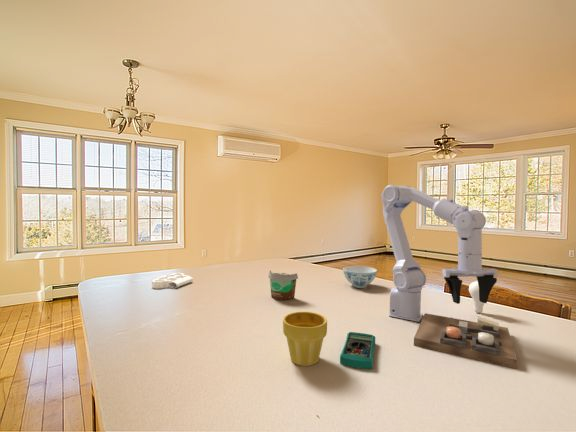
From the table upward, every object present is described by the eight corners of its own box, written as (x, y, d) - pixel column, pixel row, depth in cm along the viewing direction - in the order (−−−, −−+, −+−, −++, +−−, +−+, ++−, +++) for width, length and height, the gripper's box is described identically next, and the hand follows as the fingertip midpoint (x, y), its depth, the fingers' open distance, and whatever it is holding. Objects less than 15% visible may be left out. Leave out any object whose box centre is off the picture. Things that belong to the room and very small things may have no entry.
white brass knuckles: (172, 291, 130) (143, 288, 135) (197, 281, 147) (171, 278, 152) (172, 283, 130) (143, 280, 135) (197, 274, 147) (171, 272, 152)
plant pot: (293, 374, 67) (294, 330, 67) (276, 353, 77) (276, 314, 76) (334, 365, 71) (335, 323, 71) (313, 346, 81) (313, 309, 80)
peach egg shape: (445, 336, 79) (446, 329, 79) (446, 332, 82) (447, 325, 82) (460, 339, 78) (460, 332, 78) (460, 335, 81) (460, 328, 80)
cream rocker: (477, 324, 89) (478, 319, 88) (477, 320, 92) (478, 316, 92) (498, 331, 86) (499, 326, 86) (497, 327, 89) (498, 322, 89)
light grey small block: (458, 334, 84) (458, 325, 84) (459, 329, 87) (459, 320, 87) (466, 336, 83) (467, 327, 83) (467, 330, 86) (467, 322, 86)
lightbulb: (491, 316, 104) (493, 284, 104) (471, 315, 106) (472, 282, 105) (484, 310, 110) (485, 279, 110) (465, 309, 112) (466, 278, 111)
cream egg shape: (478, 343, 76) (478, 335, 76) (477, 338, 79) (478, 331, 79) (493, 346, 74) (494, 338, 74) (493, 341, 77) (493, 334, 77)
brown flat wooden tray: (413, 345, 82) (414, 332, 82) (424, 319, 101) (425, 308, 101) (516, 368, 71) (517, 353, 71) (507, 334, 90) (507, 322, 90)
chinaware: (351, 280, 152) (351, 264, 152) (381, 285, 143) (381, 268, 143) (337, 286, 140) (337, 269, 140) (369, 292, 131) (369, 274, 131)
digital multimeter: (339, 367, 71) (339, 354, 71) (347, 340, 86) (347, 329, 85) (372, 373, 69) (372, 360, 69) (375, 344, 83) (375, 333, 83)
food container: (262, 298, 120) (262, 273, 120) (269, 294, 126) (269, 270, 126) (292, 303, 116) (292, 276, 115) (297, 298, 122) (298, 273, 121)
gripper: (452, 255, 82) (452, 307, 82) (505, 255, 83) (505, 306, 83) (438, 252, 89) (438, 299, 89) (487, 252, 90) (487, 299, 90)
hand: (469, 302), depth 87 cm, fingers open, 7 cm apart
